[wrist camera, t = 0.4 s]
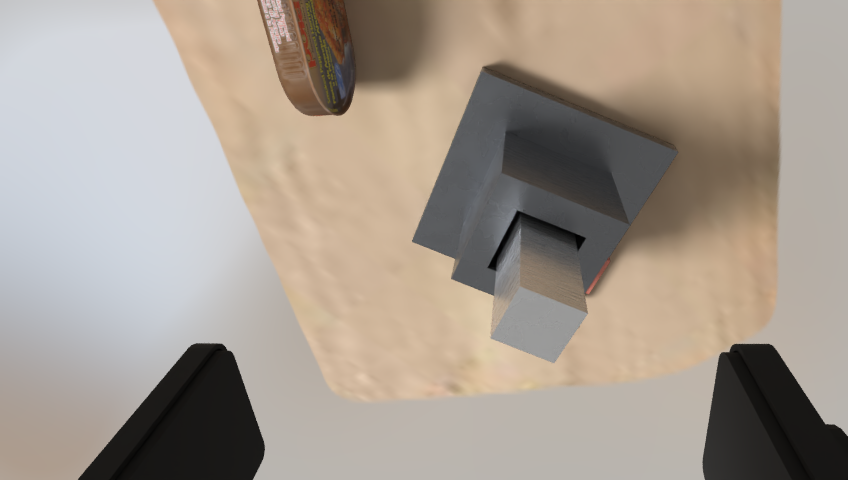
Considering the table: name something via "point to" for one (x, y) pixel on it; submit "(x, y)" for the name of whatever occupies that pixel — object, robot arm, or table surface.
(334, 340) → the table surface
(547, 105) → the jack base
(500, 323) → the bar
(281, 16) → the tin
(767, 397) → the robot arm
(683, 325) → the table surface
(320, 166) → the table surface
